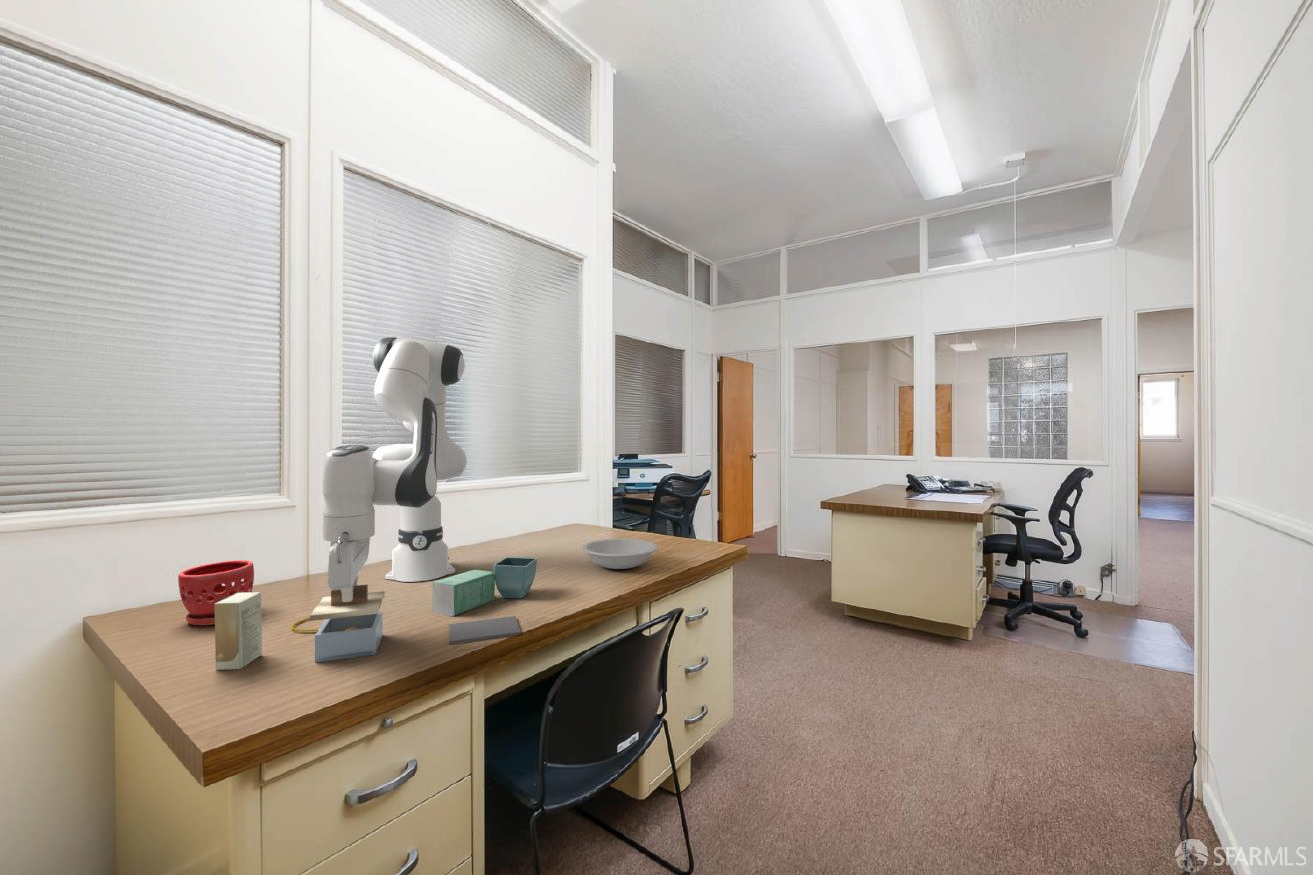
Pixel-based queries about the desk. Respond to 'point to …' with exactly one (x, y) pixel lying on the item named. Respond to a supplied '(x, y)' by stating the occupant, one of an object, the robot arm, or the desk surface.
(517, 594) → the flower pot
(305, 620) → the extension cord
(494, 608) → the desk surface
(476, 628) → the rubber mat
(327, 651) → the blue storage bin
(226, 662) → the skincare box
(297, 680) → the desk surface
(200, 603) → the plant pot
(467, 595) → the box
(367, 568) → the desk surface
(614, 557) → the soup bowl
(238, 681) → the desk surface
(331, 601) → the birch lid
